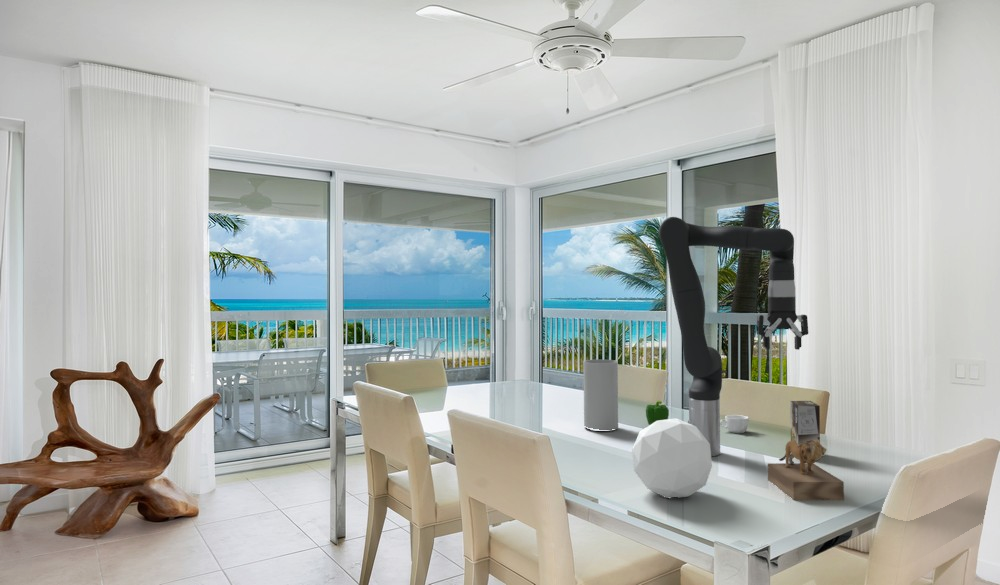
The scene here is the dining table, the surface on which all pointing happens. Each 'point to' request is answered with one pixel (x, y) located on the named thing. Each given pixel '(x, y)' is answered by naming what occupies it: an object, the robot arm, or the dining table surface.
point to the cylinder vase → (601, 394)
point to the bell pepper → (656, 412)
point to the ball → (672, 458)
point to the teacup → (736, 423)
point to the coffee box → (804, 421)
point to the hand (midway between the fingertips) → (782, 349)
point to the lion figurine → (804, 454)
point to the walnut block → (805, 482)
